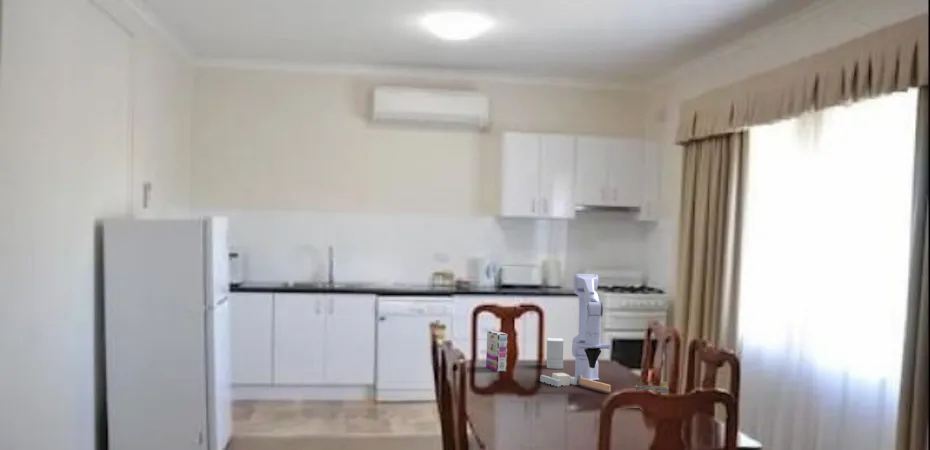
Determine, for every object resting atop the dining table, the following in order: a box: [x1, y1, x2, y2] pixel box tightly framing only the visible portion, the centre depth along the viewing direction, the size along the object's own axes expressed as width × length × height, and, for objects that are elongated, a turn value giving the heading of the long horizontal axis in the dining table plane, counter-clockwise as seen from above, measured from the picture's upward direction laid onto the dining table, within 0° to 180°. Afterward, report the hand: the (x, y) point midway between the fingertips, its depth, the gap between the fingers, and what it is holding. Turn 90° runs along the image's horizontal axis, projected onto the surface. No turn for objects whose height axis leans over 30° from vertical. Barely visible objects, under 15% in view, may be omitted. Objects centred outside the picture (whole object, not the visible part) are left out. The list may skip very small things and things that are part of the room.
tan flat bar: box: [577, 375, 612, 392], centre depth 295 cm, size 17×1×4 cm, turn 37°
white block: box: [551, 372, 571, 386], centre depth 303 cm, size 5×6×4 cm
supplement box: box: [545, 337, 565, 370], centre depth 336 cm, size 7×7×13 cm
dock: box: [539, 374, 578, 388], centre depth 304 cm, size 10×11×2 cm
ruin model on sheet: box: [635, 380, 669, 395], centre depth 270 cm, size 11×3×10 cm, turn 80°
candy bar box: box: [485, 330, 509, 373], centre depth 327 cm, size 11×5×16 cm, turn 25°
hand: (592, 367), depth 291 cm, fingers closed
